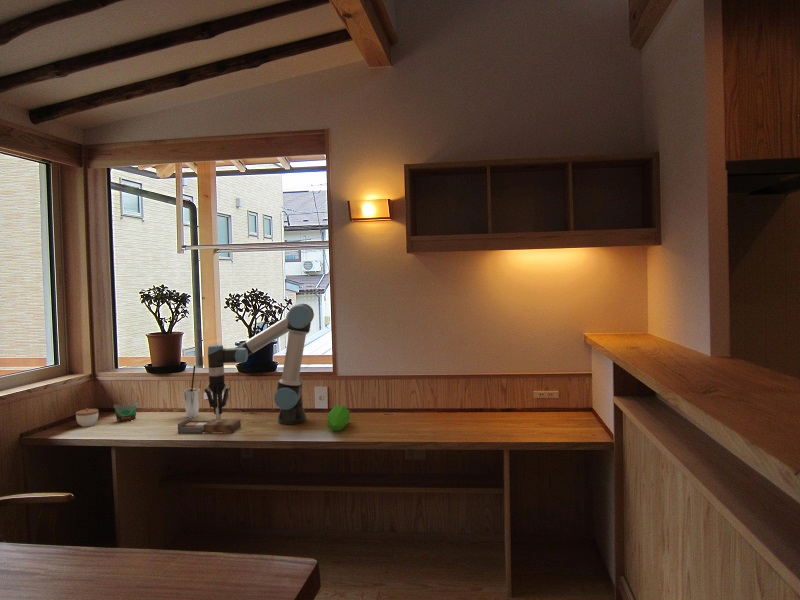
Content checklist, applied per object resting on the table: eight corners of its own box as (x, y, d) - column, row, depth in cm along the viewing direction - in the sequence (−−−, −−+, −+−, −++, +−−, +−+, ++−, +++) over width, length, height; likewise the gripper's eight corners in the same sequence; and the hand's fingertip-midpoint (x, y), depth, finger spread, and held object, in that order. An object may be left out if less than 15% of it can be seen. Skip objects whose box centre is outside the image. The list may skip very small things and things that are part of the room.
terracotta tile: (189, 422, 280) (189, 427, 281) (184, 425, 276) (184, 429, 276) (198, 422, 280) (198, 427, 280) (193, 425, 275) (194, 429, 275)
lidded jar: (86, 428, 283) (85, 411, 283) (71, 427, 287) (70, 409, 286) (103, 423, 294) (103, 406, 293) (88, 422, 297) (88, 405, 297)
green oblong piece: (346, 399, 288) (339, 410, 258) (355, 418, 288) (348, 432, 258) (327, 407, 288) (317, 420, 258) (335, 426, 288) (327, 441, 258)
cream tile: (208, 427, 280) (208, 422, 280) (204, 430, 275) (204, 425, 275) (199, 427, 280) (199, 422, 280) (195, 429, 275) (194, 425, 275)
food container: (116, 424, 291) (115, 405, 291) (113, 421, 296) (113, 404, 296) (140, 420, 299) (140, 402, 299) (138, 417, 304) (137, 400, 304)
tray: (213, 426, 284) (212, 416, 283) (201, 433, 271) (201, 423, 270) (190, 426, 285) (190, 416, 285) (178, 433, 272) (177, 423, 271)
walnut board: (240, 427, 281) (240, 419, 281) (232, 433, 270) (232, 425, 270) (213, 426, 283) (212, 419, 282) (203, 432, 272) (203, 425, 271)
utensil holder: (196, 419, 298) (194, 365, 297) (178, 418, 301) (176, 365, 299) (207, 414, 309) (205, 362, 308) (189, 413, 311) (187, 362, 310)
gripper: (201, 376, 272) (203, 422, 273) (225, 376, 271) (227, 422, 272) (207, 373, 280) (209, 418, 281) (231, 373, 279) (233, 418, 280)
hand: (218, 420), depth 276 cm, fingers closed
